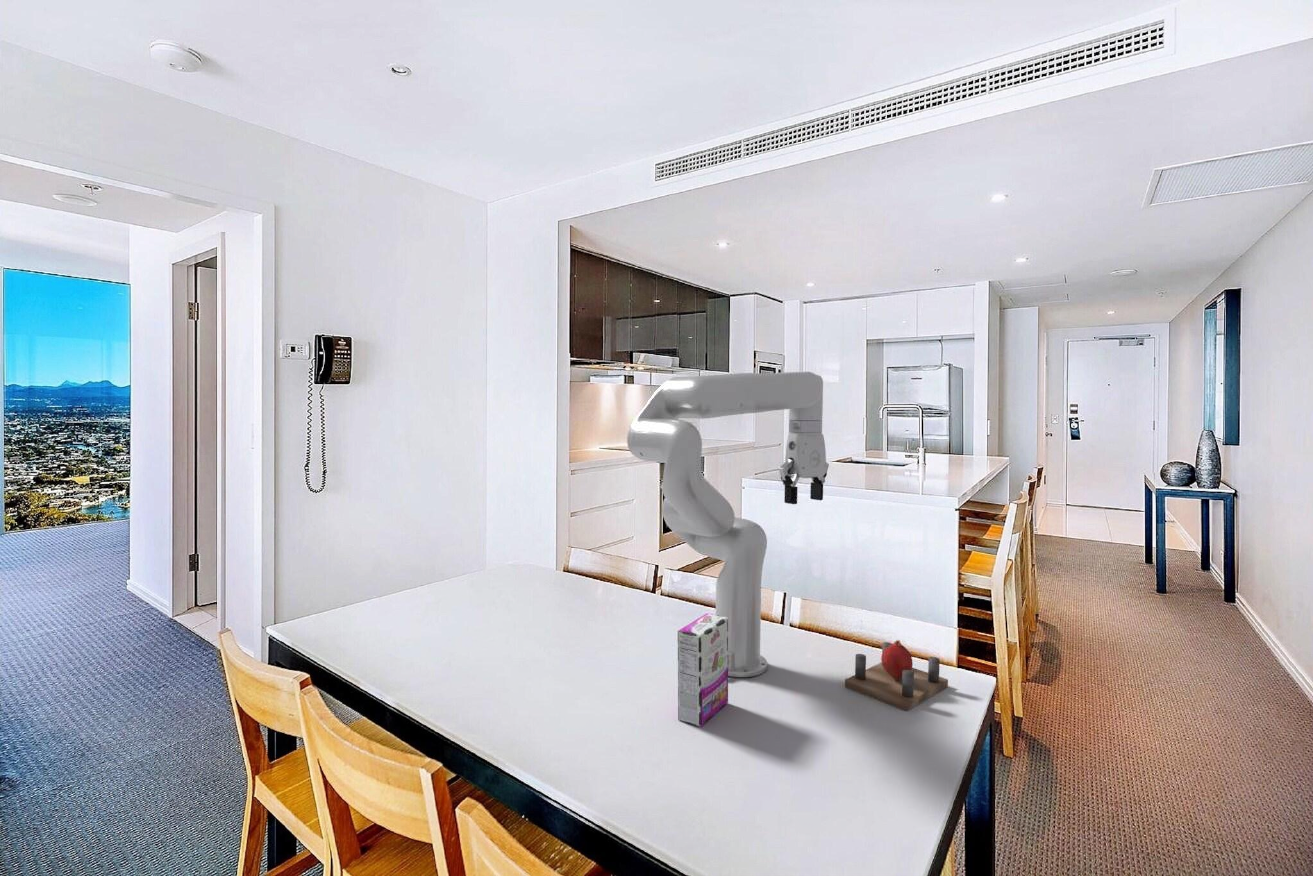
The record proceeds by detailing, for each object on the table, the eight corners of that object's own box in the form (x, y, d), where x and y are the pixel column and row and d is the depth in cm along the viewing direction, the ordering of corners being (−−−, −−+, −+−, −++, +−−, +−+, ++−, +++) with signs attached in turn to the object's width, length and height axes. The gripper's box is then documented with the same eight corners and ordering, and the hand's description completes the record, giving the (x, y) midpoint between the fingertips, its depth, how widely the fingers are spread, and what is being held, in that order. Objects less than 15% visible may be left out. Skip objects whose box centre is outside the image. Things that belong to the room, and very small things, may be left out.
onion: (875, 673, 130) (876, 634, 130) (903, 672, 131) (904, 634, 130) (888, 685, 125) (889, 645, 124) (917, 685, 125) (918, 644, 125)
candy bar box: (705, 696, 123) (706, 612, 122) (728, 703, 120) (730, 616, 119) (675, 720, 113) (676, 629, 112) (700, 728, 111) (701, 635, 110)
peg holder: (906, 711, 118) (907, 679, 117) (844, 686, 127) (845, 657, 127) (947, 686, 128) (948, 657, 128) (887, 666, 138) (888, 638, 137)
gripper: (795, 429, 140) (793, 507, 141) (841, 428, 151) (839, 500, 152) (768, 428, 146) (767, 503, 147) (814, 427, 157) (813, 496, 158)
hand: (803, 501), depth 150 cm, fingers open, 9 cm apart
